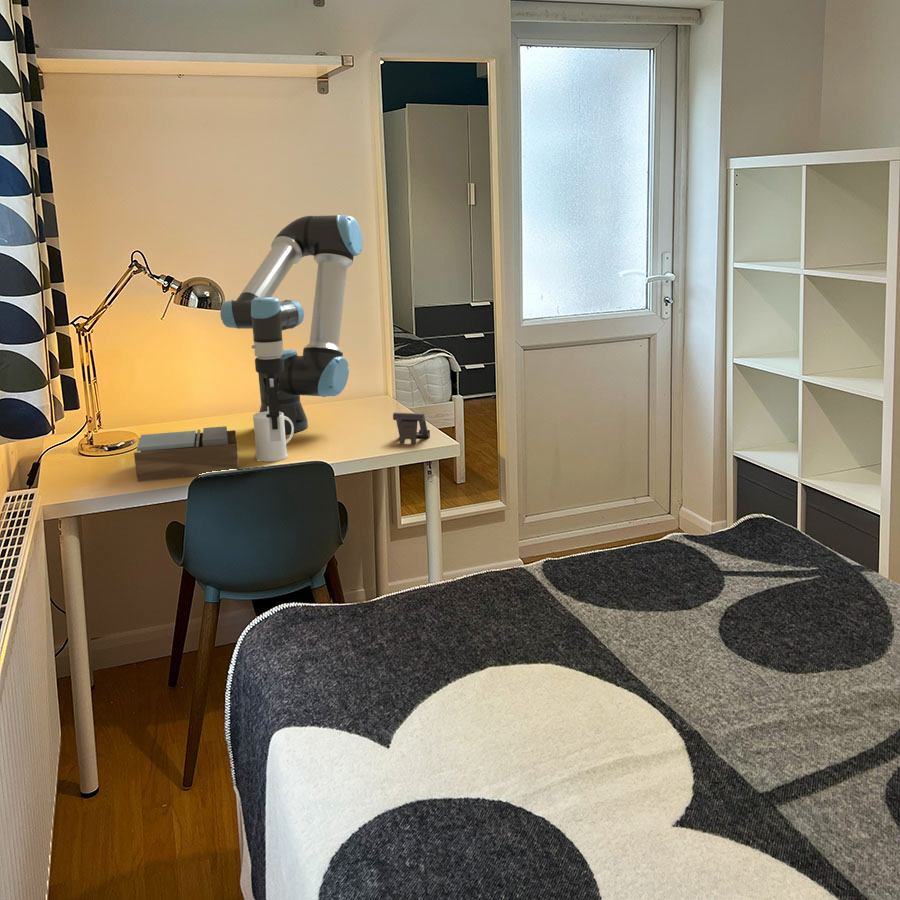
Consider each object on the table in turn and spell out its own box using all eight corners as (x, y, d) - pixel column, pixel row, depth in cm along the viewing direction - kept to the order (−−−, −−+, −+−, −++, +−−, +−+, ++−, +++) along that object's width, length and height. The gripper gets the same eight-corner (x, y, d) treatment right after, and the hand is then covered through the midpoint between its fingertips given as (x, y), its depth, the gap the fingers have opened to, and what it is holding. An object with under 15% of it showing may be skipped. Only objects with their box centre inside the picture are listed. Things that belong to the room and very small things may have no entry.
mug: (289, 449, 274) (285, 407, 271) (304, 455, 268) (301, 412, 264) (250, 457, 267) (246, 414, 264) (264, 463, 261) (261, 419, 257)
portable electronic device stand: (430, 437, 282) (429, 408, 280) (423, 444, 275) (421, 415, 272) (401, 436, 284) (400, 407, 282) (392, 443, 277) (391, 414, 275)
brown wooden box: (142, 464, 264) (138, 434, 261) (237, 456, 268) (235, 426, 266) (137, 481, 249) (133, 449, 247) (238, 472, 254) (235, 441, 251)
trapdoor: (228, 447, 266) (226, 426, 264) (228, 460, 254) (226, 438, 252) (143, 454, 262) (140, 433, 260) (139, 468, 249) (136, 445, 248)
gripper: (253, 350, 271) (259, 425, 276) (255, 365, 247) (261, 447, 253) (281, 349, 272) (286, 423, 278) (285, 363, 249) (291, 444, 254)
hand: (274, 435), depth 265 cm, fingers open, 13 cm apart
